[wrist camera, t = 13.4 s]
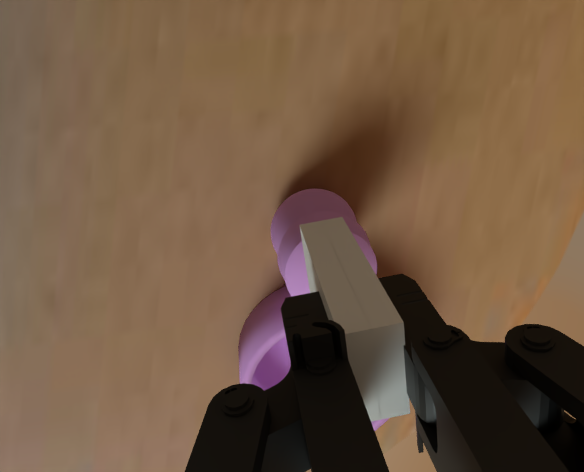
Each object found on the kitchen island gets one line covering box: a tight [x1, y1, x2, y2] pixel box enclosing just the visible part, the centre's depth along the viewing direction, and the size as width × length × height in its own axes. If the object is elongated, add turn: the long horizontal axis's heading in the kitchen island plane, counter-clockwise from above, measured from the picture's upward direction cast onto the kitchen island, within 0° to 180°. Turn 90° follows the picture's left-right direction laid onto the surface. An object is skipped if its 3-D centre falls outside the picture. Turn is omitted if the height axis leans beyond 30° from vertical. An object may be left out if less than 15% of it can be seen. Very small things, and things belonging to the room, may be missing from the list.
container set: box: [238, 188, 389, 431], centre depth 44 cm, size 25×15×13 cm, turn 2°
